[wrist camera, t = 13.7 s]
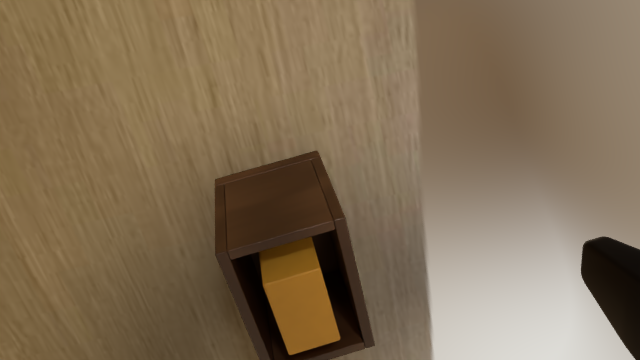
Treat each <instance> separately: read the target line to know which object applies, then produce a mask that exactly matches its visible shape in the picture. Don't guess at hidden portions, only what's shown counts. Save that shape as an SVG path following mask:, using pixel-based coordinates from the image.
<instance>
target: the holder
mask: <svg viewBox="0 0 640 360" xmlns="http://www.w3.org/2000/svg"><path fill="white" fill-rule="evenodd" d="M308 237H312V240H313V244H314V247H315V251H316V254H317V258H318V261H319V265H320V268H321V271H322V275H323V278H324V282H325V285H326V289H327V292H328V296H329V299H330V303H331V306H332V310H333V313H334V317H335V320H336V324H337V327H338V331H339V334H340V340H339V341H335V342H332V343H329V344H325V345H322V346H319V347H316V348H312V349H309V350H306V351H302V352H299V353H296V354H293V355H289V354H288V351H287V349H286V346H285V343H284V341H283V338H282V335H281V333H280V330H279V327H278V325H277V322H276V319H275V317H274V314H273V311H272V309H271V306H270V303H269V301H268V298H267V295H266V293H265V290H264V287H263V282H262V274H261V267H260V259H259V252H260V251H263V250H267V249H270V248H274V247H277V246H280V245H284V244H287V243H291V242H294V241H298V240H301V239H304V238H308ZM215 255H216V257H217V260H218V262H219V265H220V267H221V269H222V272H223V274H224V276H225V279H226V281H227V284H228V286H229V288H230V291H231V293H232V295H233V298H234V300H235V303H236V305H237V307H238V310H239V312H240V314H241V317H242V319H243V322H244V324H245V326H246V329H247V331H248V333H249V336H250V338H251V341H252V343H253V345H254V348H255V350H256V352H257V355H258V357H259V360H329V359H333V358H336V357H339V356H343V355H346V354H349V353H352V352H356V351H359V350H362V349H365V348H369V347H372V346H375V343H374V338H373V334H372V330H371V326H370V321H369V317H368V313H367V308H366V304H365V300H364V296H363V291H362V287H361V283H360V278H359V274H358V270H357V266H356V261H355V257H354V253H353V248H352V244H351V240H350V236H349V231H348V227H347V223H346V218H345V216H344V213H343V211H342V208H341V206H340V203H339V201H338V199H337V196H336V194H335V191H334V189H333V186H332V184H331V182H330V179H329V177H328V174H327V172H326V170H325V167H324V165H323V162H322V160H321V158H320V155H319V153H318V151H314V152H310V153H307V154H303V155H300V156H296V157H293V158H289V159H285V160H282V161H278V162H275V163H271V164H268V165H264V166H261V167H257V168H254V169H250V170H247V171H243V172H240V173H236V174H232V175H229V176H225V177H222V178H218V179H216V180H215Z"/></svg>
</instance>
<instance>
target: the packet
mask: <svg viewBox="0 0 640 360" xmlns="http://www.w3.org/2000/svg"><path fill="white" fill-rule="evenodd" d="M259 259H260V267H261V274H262V282H263V287H264V290H265V293H266V295H267V298H268V301H269V303H270V306H271V309H272V311H273V314H274V317H275V319H276V322H277V325H278V327H279V330H280V333H281V335H282V338H283V341H284V343H285V346H286V349H287V351H288V354H289V355H293V354H296V353H299V352H302V351H306V350H309V349H312V348H316V347H319V346H322V345H325V344H329V343H332V342H335V341H339V340H340V334H339V331H338V327H337V324H336V320H335V317H334V313H333V310H332V306H331V303H330V299H329V296H328V292H327V289H326V285H325V282H324V278H323V275H322V271H321V268H320V265H319V261H318V258H317V254H316V251H315V247H314V244H313V240H312V237H308V238H304V239H301V240H298V241H294V242H291V243H287V244H284V245H280V246H277V247H274V248H270V249H267V250H263V251H260V252H259Z"/></svg>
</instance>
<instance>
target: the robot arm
mask: <svg viewBox="0 0 640 360" xmlns="http://www.w3.org/2000/svg"><path fill="white" fill-rule="evenodd" d="M581 275H582V278H583V280H584V282H585V284H586V286H587V287H588V289H589V290H590V292H591V293H592V295H593V297H594V298H595V300H596V301H597V303H598V304H599V306H600V308H601V309H602V311H603V312H604V314H605V315H606V317H607V318H608V320H609V322H610V323H611V325H612V326H613V328H614V329H615V331H616V333H617V334H618V336H619V337H620V339H621V340H622V342H623V343H624V345H625V346H626V348H627V349H628V350H629V351H630V353H631V354H632V356H633V357H634V358H635V359H636V360H640V250H639V249H637V248H634V247H632V246H629V245H627V244H624V243H622V242H619V241H617V240H614V239H611V238H609V237H599V238H596V239H592V240H589V241H586V242H585V243H584V245H583V251H582V264H581Z"/></svg>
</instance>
